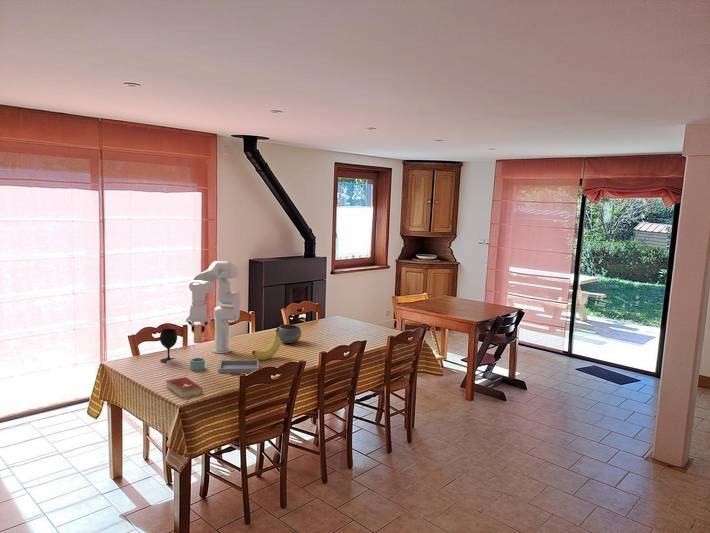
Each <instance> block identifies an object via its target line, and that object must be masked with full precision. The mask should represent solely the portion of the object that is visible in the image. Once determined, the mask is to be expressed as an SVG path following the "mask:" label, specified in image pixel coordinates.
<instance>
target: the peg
mask: <svg viewBox="0 0 710 533" xmlns="http://www.w3.org/2000/svg"><path fill="white" fill-rule="evenodd" d="M202 326H203V324H202V323H194V333H193V343H194V344H202V343H203V333H202Z"/></svg>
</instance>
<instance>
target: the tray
mask: <svg viewBox="0 0 710 533" xmlns="http://www.w3.org/2000/svg"><path fill="white" fill-rule="evenodd" d="M259 361H260V360H258V359H220V360H219V364H218V374H229V375H242V374H241V373H246V374H245V375H249V374H248V373H251V372H253V371H255V370H257V369H259V370H260V364H259V363H260V362H259Z"/></svg>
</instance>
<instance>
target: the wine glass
mask: <svg viewBox="0 0 710 533" xmlns="http://www.w3.org/2000/svg"><path fill="white" fill-rule="evenodd" d="M159 340H160V341H159V342H160V344H161V345H162V346H163V347H164V348H166V349H167V357H165V358H162V359H160V360H159V362H160V361H161V362H160V363H162V362H163V363H162V364H167V363H168V362H169V361H171V360H176V358H174V357H170V351H171V348H173V347H174V346H175V345H176V343H177V341H178V333H177V330H176V329H175V328H165V329H162V330H161V331H160V334H159Z"/></svg>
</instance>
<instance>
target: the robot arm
mask: <svg viewBox="0 0 710 533" xmlns="http://www.w3.org/2000/svg"><path fill="white" fill-rule="evenodd" d="M238 276H239V268H238V267H237V266H236V265H235V264H234V263H233V262H231V261H228V260H227V261H225V260H215V261H213V262H212V263H211V264H210V265H209V267H208V268H207V270H205V271H202V272H200V273H198V274H195V275H194V276H193V277H192V278H191V280H190V282H189V285H188V289H189V290H190V292H191V304H190V308H189V315H188V316H187V318H186V319H185V322H186V323H188V324H189V326H190V327H191V332H192V334H194V324H195V322H196V323H197V322H199V323H200V322H201V324H202V334H203V333H204V332H205V331H206V325H208V324H209V323H210V322H211V321H212V320H211V318H210V317H209V316H208V308H207V304H208V300H207V301H206V294H209V293H212V291H213V290H214V283H213V282H217V293H216V295H217V296H216V297H217V298H216V301H217V303H218V304H220V305H218V306H216V307H214V310H213V317H214V348H212V350H211V351H212V353H214V354H227V353H230V352H232V348H230V346H229V345H230V344H229V343H230V324H229V323H228V321H230V322H231V321H232V322H235V321H238V320H239V319H240V314H241V301H242V299H241V293H240V292H239V291H236V290H231V282H230V280H229V279H236V278H237V277H238ZM227 305H230V306H227Z"/></svg>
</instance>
